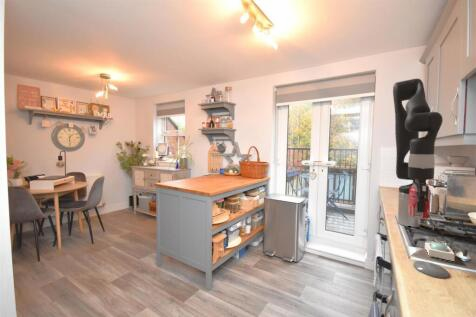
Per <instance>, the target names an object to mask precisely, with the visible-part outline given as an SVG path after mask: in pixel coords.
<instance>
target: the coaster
mask: <svg viewBox="0 0 476 317" xmlns="http://www.w3.org/2000/svg"><path fill="white" fill-rule="evenodd" d="M412 264H413V265H412V266H413V268H414V269H415V270H416V271H418V272H419V273H421V274H424V275H427V276H429V277H432V278H438V279H446V278H449V274H450V273H449V271H448V270H447V269H446V268H444V267H443V266H441V265H438V264H435V263H432V262H429V261H423V260H418V261H414V262H413V263H412Z"/></svg>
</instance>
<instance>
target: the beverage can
mask: <svg viewBox="0 0 476 317" xmlns="http://www.w3.org/2000/svg"><path fill="white" fill-rule="evenodd" d="M417 192H418V193H419V190H418V187H417ZM415 193H416V191H415V187H414V186H412V187H411V188H410V190H409V215H411V216H412V217H414V218H418V219H420V220H427V219H430V217H431V201H432V200H431V199H432V191H431V189H430V188H429V191H428V202H425V203H426V205H425V212H418V211H417V196H416V195H415ZM421 198H424V196H421Z"/></svg>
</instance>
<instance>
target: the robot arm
mask: <svg viewBox="0 0 476 317" xmlns="http://www.w3.org/2000/svg"><path fill="white" fill-rule="evenodd" d="M424 86H425V85H424V83H423V81H422V79H420V78H411V79H407V80H403V81H401V80H400V81H397V82H395V83H394V84H393V87H392V96H393V97H392V98H393V106H394V115H395V116H394V118H395V119H394V121H395V126H394V129H395V134H394V135H395V145H396V157H395V158H396V160H395V162H396V163H395V164H396V165H395V174H396V178H398V180H406V181H407V180H408V181H412V182H411V183H409V184H404V185H401V186H399V188H398V205H397V206H398V207H397V208H398V210H397V223H398V224H399V225H401V226H405V227H408V226H411V227H410V228H420V227H421V226H420V225H421V219H418V218H414V217H412V216H411V215H409V190H410V188H411V187H412V186H414V187H415V191H416V193H415V195H416V196H417V211H418V212H425V205H426V203H425V202H428V191H429V189H430V186H429V184H428V183H427V180H428V181H430V180H434V178H435V166H436V164H435V161H436V159H435V147H436V146H435V144H436V140H437V137H438V134H439V131H440V129H441V127H442V124H443V116H442V114H441V113H439V112H437V111H431V107H430V106H429V104H428V102H427V99H426V92H425V87H424ZM404 101H407V102H406V104H405V107H404V105H403V102H404ZM420 132H421V133H422V132H423V133H425V132H427V133H426V134H425V135H424V136H422V137H419V134H420ZM408 153H409V155H408ZM407 155H408V156H409V157H408V162H405V158H406V156H407ZM417 187H418V190H419V193H418V192H417ZM421 196H424V198H421Z"/></svg>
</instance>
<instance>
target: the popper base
mask: <svg viewBox="0 0 476 317" xmlns="http://www.w3.org/2000/svg"><path fill="white" fill-rule="evenodd" d="M431 243H432V242H426V241H425V242H424V250H425V249H426V250H427V252H428V255H429V256H434V257H439V258H442V259H446V260H451V261H454V262H455V253H454V251H453V250H452V249H451V248H450V246H449V245H446V246H447V252H445V251H440V250H435V249H432V248H431ZM428 255H427V256H428ZM429 256H428V257H429ZM446 260H445V261H446ZM451 261H450V262H451Z"/></svg>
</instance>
